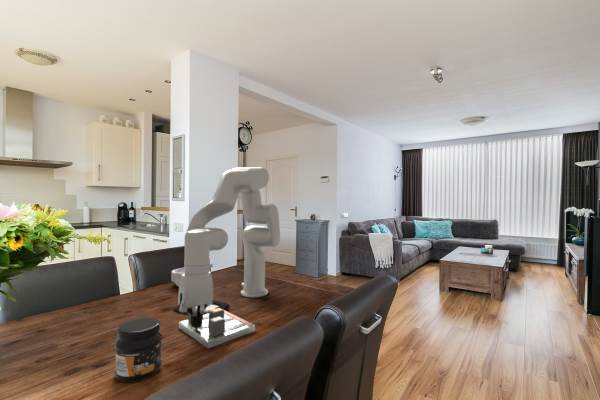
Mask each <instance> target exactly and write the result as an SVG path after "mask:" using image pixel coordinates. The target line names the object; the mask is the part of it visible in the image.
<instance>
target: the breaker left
mask: <svg viewBox="0 0 600 400" xmlns="http://www.w3.org/2000/svg"><path fill="white" fill-rule="evenodd" d="M196 309H197V306H196ZM187 320H188V321H190V322H191V314H189V313H188V315H187ZM202 320H203V314H202Z"/></svg>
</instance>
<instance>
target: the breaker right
mask: <svg viewBox="0 0 600 400" xmlns="http://www.w3.org/2000/svg"><path fill="white" fill-rule="evenodd" d="M224 332H225V319H223V318H221V317H216V318H213V319H210V320H208V333H209V334H210V335H212V336H216V335H219V334H221V333H224Z"/></svg>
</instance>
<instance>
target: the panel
mask: <svg viewBox="0 0 600 400" xmlns="http://www.w3.org/2000/svg"><path fill="white" fill-rule="evenodd" d="M224 319H225V332H224V333H221V334H219V335H216V336H212V335H210V334H209V333H208V320H209V314H206V315H203V320H202V323H201V327H200V328H199V327H198V328H197V329H196V328H194V327H193V326H192V325H191V322H190V321H188V319H184V320H181V321H179V322H178V329H180V330H181V331H182V332H184V333H185V334H186V335H188V336H189V337H191V338H192V339H194V340H195V341H197V342H198V343H200V344H201V345H202V346H204V347H205V348H207V349H210V348H213V347H216V346H219V345H221V344H224V343H227V342H230V341H232V340H235V339H237V338H239V337H243V336H245V335H248V334H251V333H253V332H256V325H255V324H254V323H252V322H250V321H247V320H245V319H243V318H241V317H239V316H237V315H235V314H234V313H231V312H229V311H227V310H224Z"/></svg>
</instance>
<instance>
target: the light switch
mask: <svg viewBox="0 0 600 400" xmlns="http://www.w3.org/2000/svg"><path fill="white" fill-rule="evenodd" d="M212 302H213V304H212V305H210V306H208V307H207V308H206V309H205V310H204V313H203V315H206V314H209V311H211V310H213V309H216V308H220V309H223V310H225V311H227V310H228V309H229V308H230V304H229V303H227V302H223V301H219V300H216V299H215V300H214V299H213V300H212ZM179 309H180V305H179V304H178V306H177V305H176V307H174V308H173V309H172V311H173V312H175V313H178V314H181V315H186V316H188V312H181V311H179Z"/></svg>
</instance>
